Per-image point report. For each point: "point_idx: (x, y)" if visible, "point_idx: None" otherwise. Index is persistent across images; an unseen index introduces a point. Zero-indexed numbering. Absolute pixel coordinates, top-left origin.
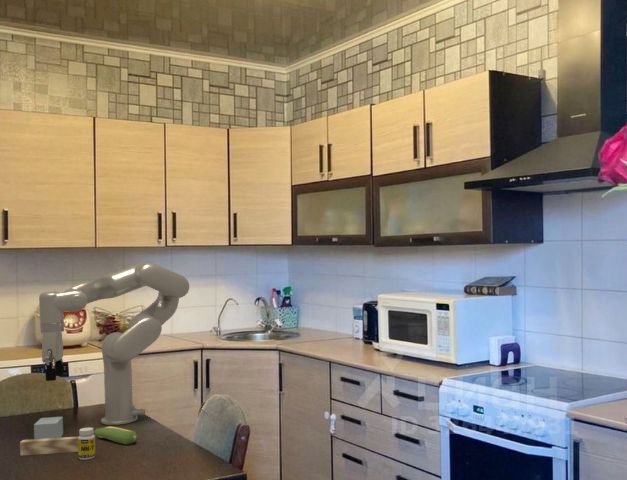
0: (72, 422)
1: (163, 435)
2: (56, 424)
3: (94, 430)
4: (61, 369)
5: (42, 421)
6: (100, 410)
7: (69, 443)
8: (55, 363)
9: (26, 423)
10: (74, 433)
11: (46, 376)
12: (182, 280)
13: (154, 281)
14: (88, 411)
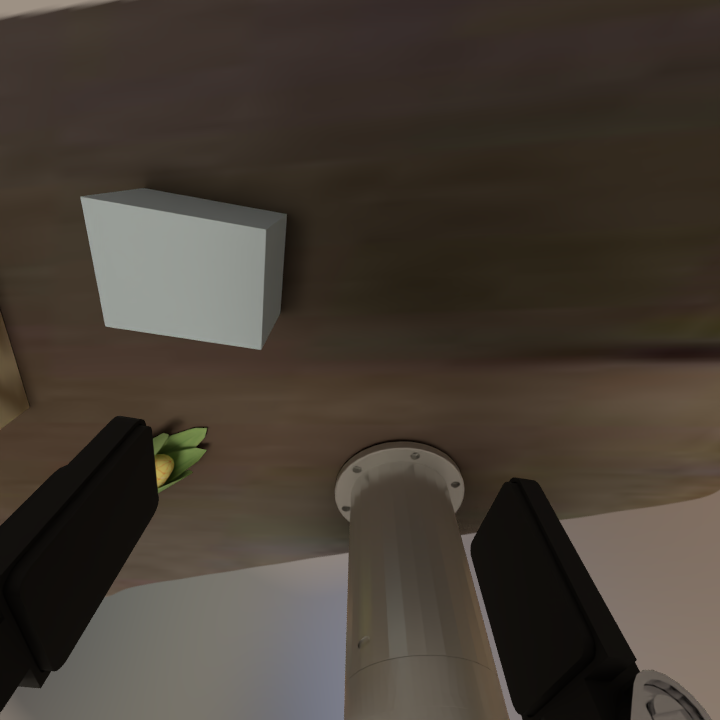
0: (482, 343)
1: (166, 562)
2: (108, 323)
3: (166, 438)
4: (491, 610)
5: (165, 246)
6: (629, 439)
7: None
8: (590, 692)
9: (639, 92)
10: (273, 355)
11: (80, 463)
12: None
13: None
14: (653, 400)
